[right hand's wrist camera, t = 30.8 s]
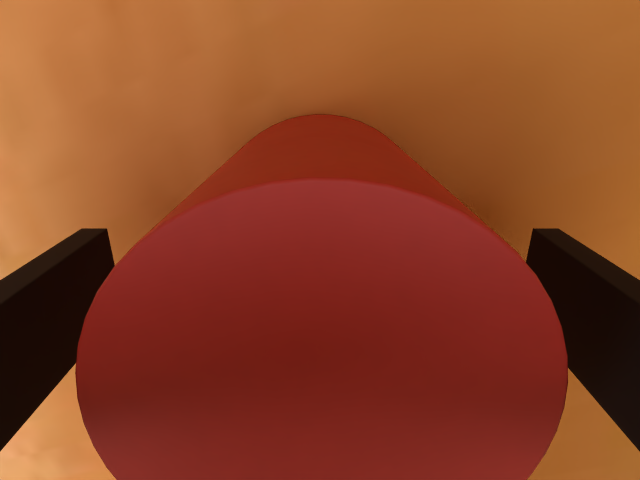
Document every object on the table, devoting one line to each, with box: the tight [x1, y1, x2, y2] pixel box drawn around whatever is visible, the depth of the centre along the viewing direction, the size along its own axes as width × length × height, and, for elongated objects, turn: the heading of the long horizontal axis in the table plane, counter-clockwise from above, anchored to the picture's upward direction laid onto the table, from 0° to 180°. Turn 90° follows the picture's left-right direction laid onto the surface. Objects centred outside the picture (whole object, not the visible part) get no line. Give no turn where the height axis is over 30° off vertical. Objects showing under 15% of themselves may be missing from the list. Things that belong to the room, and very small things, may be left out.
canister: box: [75, 114, 568, 480], centre depth 12 cm, size 9×9×10 cm
